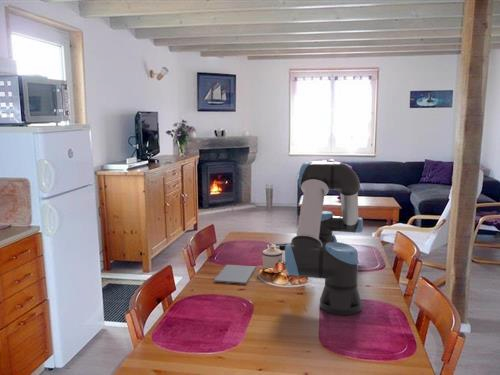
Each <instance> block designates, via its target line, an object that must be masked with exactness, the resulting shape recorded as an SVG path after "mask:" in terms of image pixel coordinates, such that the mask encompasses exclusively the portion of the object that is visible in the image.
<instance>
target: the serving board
mask: <svg viewBox="0 0 500 375" xmlns="http://www.w3.org/2000/svg"><path fill="white" fill-rule="evenodd" d="M256 269H257V266H255V265H254V266H253V265H241V264H239V265H238V264H225V266H224V267H223V268H222V270H221V271H219V273H218V274H217V276H216V277H215V278H214V279H213V280H214V281H213V282H214V283H216V282H226V283H225V284H230V283H240V284H239V285H243V284H246V283H247V282H248V283H249V281H250V279H251V278H252V276H253V274H254V273H253V272H256V271H255V270H256ZM250 277H251V278H250ZM248 280H249V281H248ZM248 283H247V284H248ZM247 284H246V285H247Z"/></svg>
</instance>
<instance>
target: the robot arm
mask: <svg viewBox="0 0 500 375" xmlns="http://www.w3.org/2000/svg"><path fill="white" fill-rule="evenodd" d="M297 179H298V181H297V182H298V186H299V188H301V191H302V193H303V195H302V199H301V200H302V201H301V208H300V211H299V217H298V218H299V219H298V224H297V231H296V236H294V237H293V238H292V239H291V242H288V243H287V242H285V243H276V244H275V245H276V246H275V245H274V247H275V248H277V249H279V250H281V251H282V252H283V251H284V261H285V262H284V263H285V269H286V272H287V274H288V275H289V276H294V277H298V278H300V277H302V278H314V279H324V287H323V290H322V292H321V295H320V297H319V298H320V299H319V307H320V308H321V310H323V311H324V312H326V313H328V314H331V315H336V316H352V315H356V314H358V313H359V312H361V311H362V305H363V304H362V303H363V302H362V299H361V296H360V293H359V289H358V276H359V274H358V270H359V268H358V265H359V262H360V261H359V252H358V250H357V249H356V248H355V247H353V246H352V245H350V244H348V243H344V242H338V240H337V237H336V235H335V234H333V232H341V233H352V234H353V233H354V234H355V233H359V234H360V233H362V232H363V227H364V226H363V223H364V219H363V218H362V217H359V194H358V193H359V191H360V190H361V189H360V188H361V182H360V178H359V177H358V174H357V173H356V172H355V170H353V168H351V167H350V166H349V165H348V164H346V163H343V162H339V161H314V160H312V161H304V162H303V163H302V164H301V166H300V168H299V172H298V178H297ZM330 190H337V191H338V193H339V194H340V204H341V205H340V206H341V216H340V215H339V216H336V215H334V214H333V211H329V210H323V207H324V200H325V196H327V194H328V193H329V191H330Z"/></svg>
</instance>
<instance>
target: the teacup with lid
mask: <svg viewBox="0 0 500 375" xmlns="http://www.w3.org/2000/svg"><path fill="white" fill-rule="evenodd" d="M261 253H262V269H263V268H274V266H275V264H276V263H277V262H282V263H283V251H282V250H279V249H277V248H275V245H270V246H269V247H268V248H266V249H264V250H262V252H261Z"/></svg>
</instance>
